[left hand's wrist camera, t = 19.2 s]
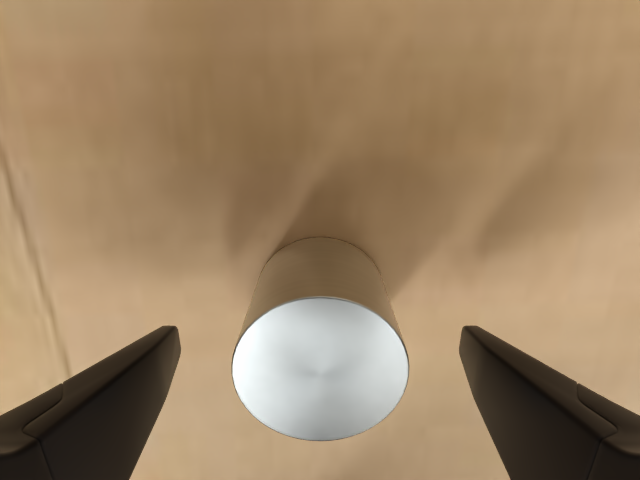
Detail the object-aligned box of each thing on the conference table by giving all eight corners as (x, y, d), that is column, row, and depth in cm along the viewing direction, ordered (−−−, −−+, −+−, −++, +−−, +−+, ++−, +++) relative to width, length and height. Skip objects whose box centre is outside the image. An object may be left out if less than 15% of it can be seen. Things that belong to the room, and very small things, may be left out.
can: (235, 315, 15) (201, 400, 11) (295, 212, 13) (284, 263, 9) (341, 367, 16) (348, 463, 11) (408, 275, 14) (446, 348, 10)
